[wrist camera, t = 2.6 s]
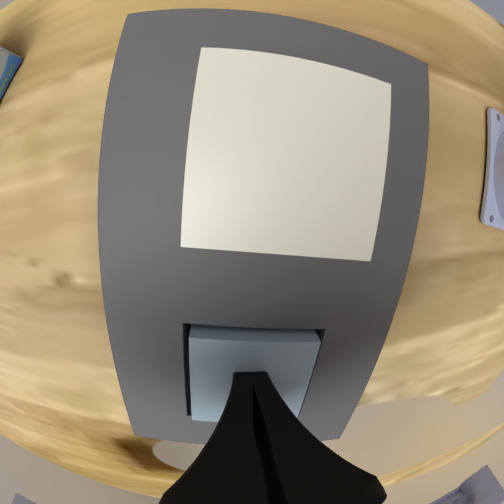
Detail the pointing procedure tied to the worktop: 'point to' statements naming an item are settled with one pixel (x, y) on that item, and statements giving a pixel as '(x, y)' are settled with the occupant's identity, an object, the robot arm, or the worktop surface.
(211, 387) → the blue key
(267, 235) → the cream key
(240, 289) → the grey flat rectangular block
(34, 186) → the worktop surface
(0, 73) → the medicine box
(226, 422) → the robot arm
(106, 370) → the worktop surface
